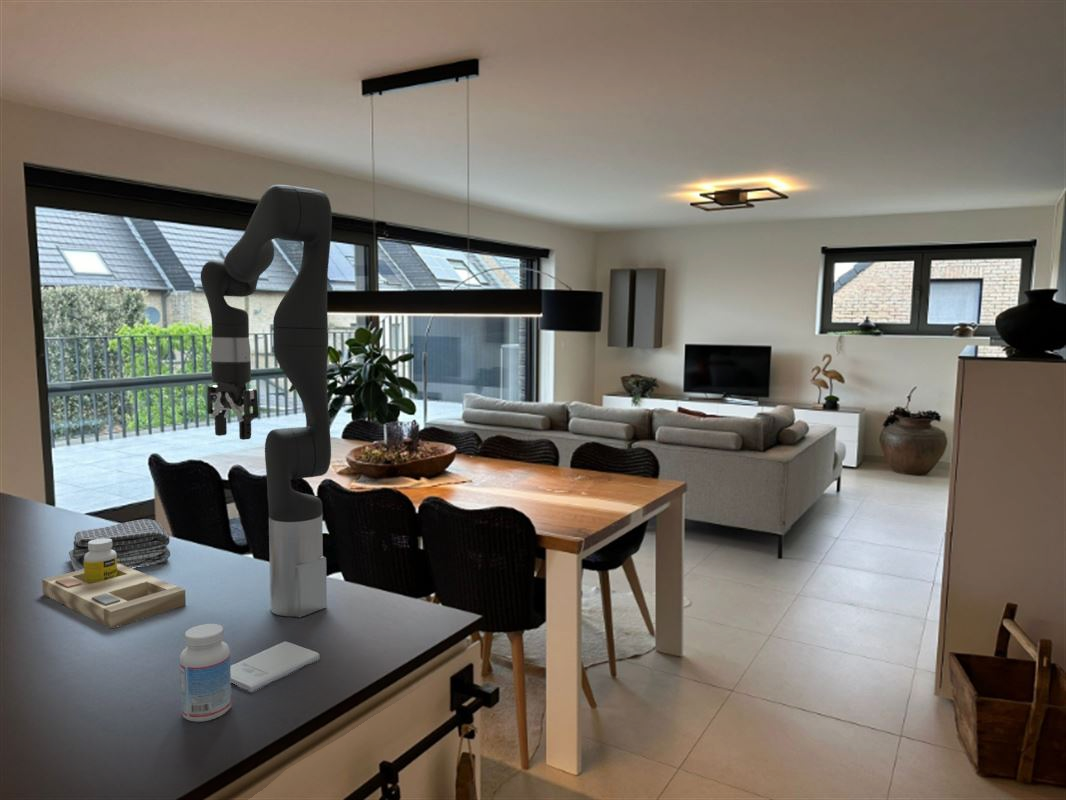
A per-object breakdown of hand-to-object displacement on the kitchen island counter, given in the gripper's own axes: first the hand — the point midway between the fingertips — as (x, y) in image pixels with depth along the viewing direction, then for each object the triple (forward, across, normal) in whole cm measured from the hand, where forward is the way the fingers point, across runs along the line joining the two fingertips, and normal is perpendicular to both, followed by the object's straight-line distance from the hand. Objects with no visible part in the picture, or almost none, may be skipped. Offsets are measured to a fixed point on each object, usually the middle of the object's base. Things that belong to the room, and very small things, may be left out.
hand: (232, 437), depth 150 cm
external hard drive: (+29, -44, +24) cm, 58 cm away
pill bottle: (+28, -48, +36) cm, 66 cm away
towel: (+29, +24, +12) cm, 39 cm away
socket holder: (+28, +2, +24) cm, 37 cm away
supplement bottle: (+28, +9, +23) cm, 37 cm away
